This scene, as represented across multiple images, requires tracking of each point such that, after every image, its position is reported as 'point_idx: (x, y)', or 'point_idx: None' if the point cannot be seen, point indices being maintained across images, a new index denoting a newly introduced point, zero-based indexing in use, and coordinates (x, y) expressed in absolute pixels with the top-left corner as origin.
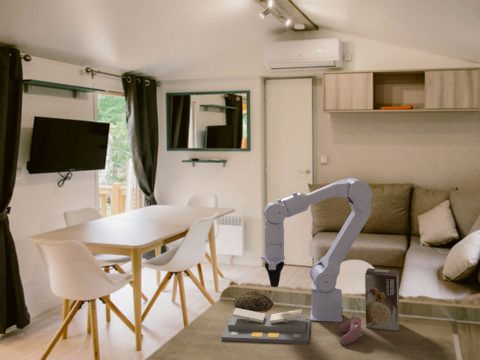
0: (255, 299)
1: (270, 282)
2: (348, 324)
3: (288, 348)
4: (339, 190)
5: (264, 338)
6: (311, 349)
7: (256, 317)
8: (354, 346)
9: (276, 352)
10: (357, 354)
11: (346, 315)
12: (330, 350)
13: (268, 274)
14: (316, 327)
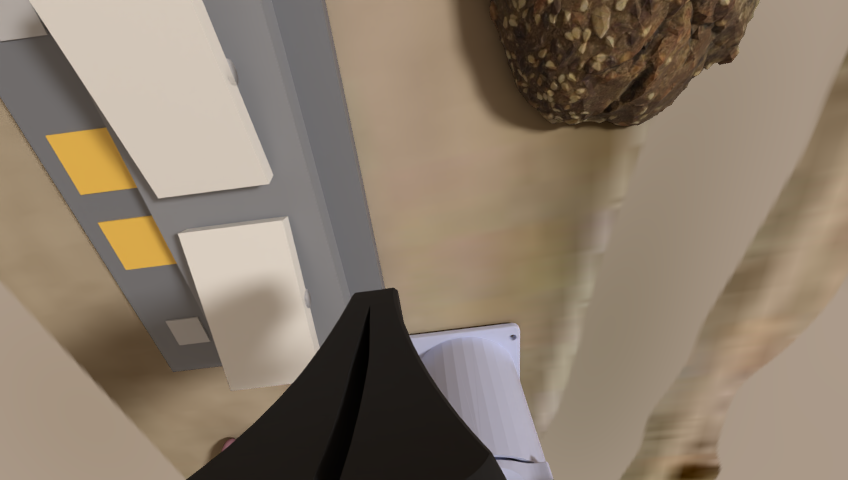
0: (561, 25)
1: (339, 320)
2: None
3: (96, 308)
4: None
5: (73, 211)
6: (141, 374)
7: (153, 151)
8: None
9: (25, 274)
10: (186, 472)
11: None
12: (170, 419)
13: (283, 394)
14: None
